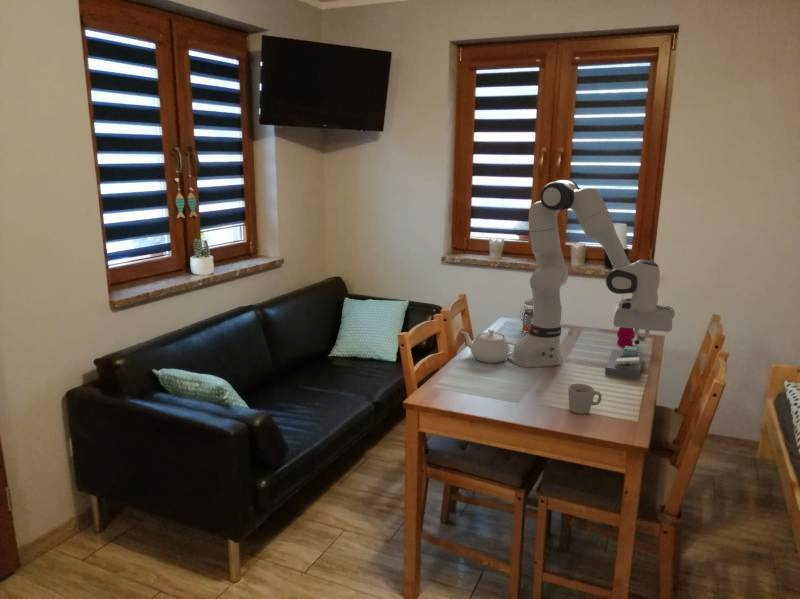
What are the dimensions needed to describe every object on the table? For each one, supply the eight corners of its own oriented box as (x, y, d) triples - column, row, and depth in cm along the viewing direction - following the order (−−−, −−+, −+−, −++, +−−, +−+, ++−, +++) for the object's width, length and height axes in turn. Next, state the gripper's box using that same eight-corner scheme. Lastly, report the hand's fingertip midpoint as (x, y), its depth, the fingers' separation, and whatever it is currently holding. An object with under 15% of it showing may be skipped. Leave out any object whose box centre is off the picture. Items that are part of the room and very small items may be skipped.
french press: (545, 331, 281) (549, 280, 275) (527, 335, 275) (530, 282, 270) (531, 326, 289) (534, 276, 283) (513, 329, 284) (516, 278, 278)
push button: (635, 357, 230) (636, 350, 229) (623, 356, 232) (624, 348, 231) (636, 354, 234) (637, 347, 233) (624, 352, 236) (625, 345, 235)
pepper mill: (612, 343, 266) (616, 299, 261) (624, 341, 268) (629, 298, 264) (624, 347, 259) (629, 303, 254) (637, 345, 262) (642, 301, 257)
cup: (595, 406, 198) (597, 383, 196) (604, 416, 191) (606, 392, 189) (563, 406, 198) (565, 383, 196) (570, 416, 190) (573, 392, 188)
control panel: (638, 380, 222) (640, 364, 220) (604, 374, 227) (606, 359, 225) (642, 360, 243) (644, 346, 242) (611, 356, 248) (613, 342, 246)
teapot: (523, 359, 244) (525, 330, 241) (510, 369, 230) (512, 339, 228) (467, 348, 256) (468, 321, 253) (452, 358, 243) (453, 329, 240)
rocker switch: (639, 365, 222) (638, 360, 222) (616, 365, 226) (616, 361, 226) (639, 361, 226) (639, 356, 226) (617, 362, 230) (617, 358, 230)
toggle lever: (633, 354, 239) (640, 341, 237) (628, 352, 240) (635, 339, 238) (633, 353, 241) (640, 340, 239) (629, 350, 241) (635, 338, 239)
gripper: (675, 305, 218) (671, 341, 221) (616, 300, 226) (613, 335, 229) (675, 308, 212) (671, 346, 215) (614, 303, 220) (611, 339, 224)
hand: (641, 340), depth 222 cm, fingers closed
